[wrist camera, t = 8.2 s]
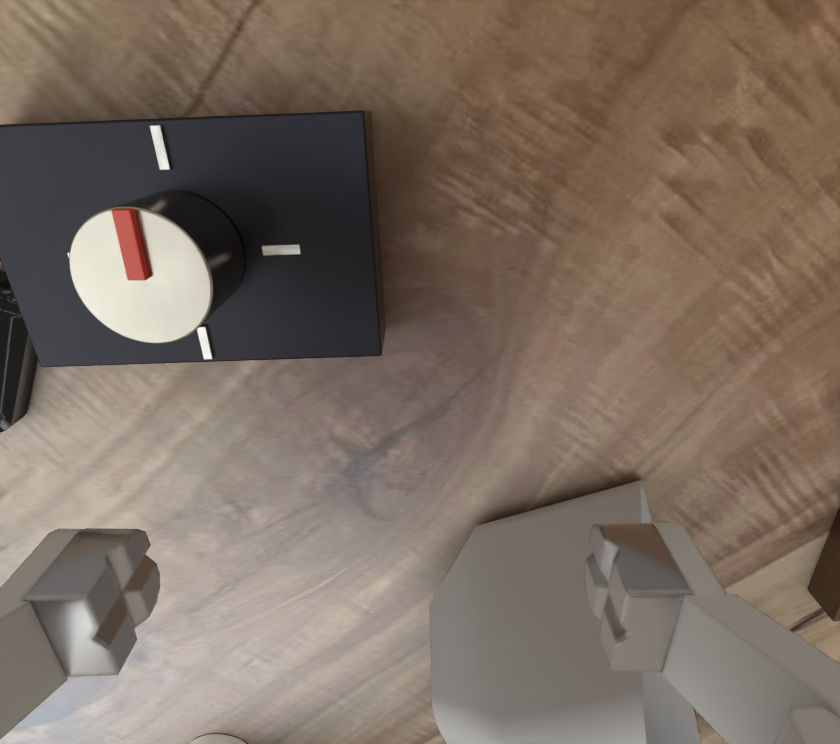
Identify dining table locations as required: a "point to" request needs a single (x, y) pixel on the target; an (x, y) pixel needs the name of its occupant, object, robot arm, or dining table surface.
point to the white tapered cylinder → (217, 739)
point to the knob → (156, 265)
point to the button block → (829, 575)
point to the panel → (236, 198)
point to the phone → (14, 359)
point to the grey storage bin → (541, 638)
